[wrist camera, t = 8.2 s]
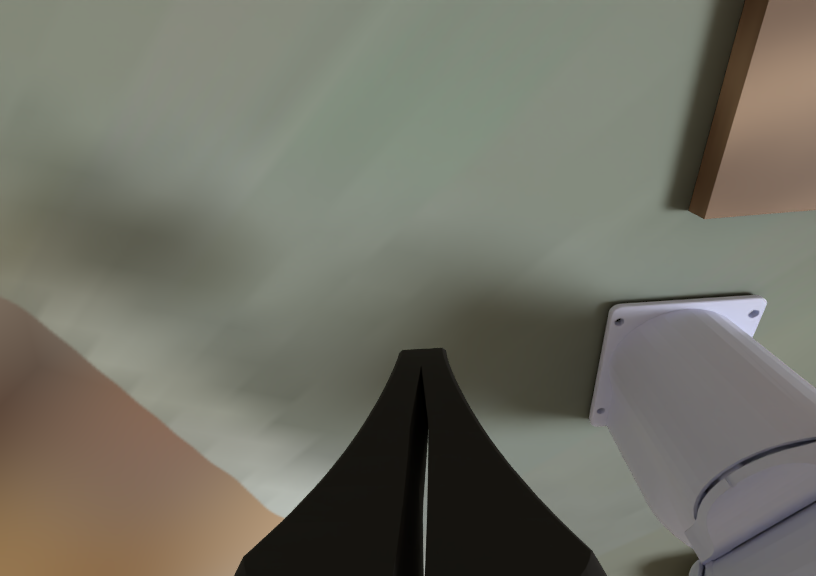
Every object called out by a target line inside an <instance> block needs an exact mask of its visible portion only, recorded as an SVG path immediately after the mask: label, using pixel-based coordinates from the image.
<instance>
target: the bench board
mask: <svg viewBox="0 0 816 576" xmlns="http://www.w3.org/2000/svg"><path fill="white" fill-rule="evenodd" d="M807 210H816V0H745V3H744V7H743V11H742V15H741V18H740V22H739V26H738V29H737V33H736V37H735V40H734V44H733V48H732V51H731V55H730V59H729V63H728V66H727V70H726V74H725V77H724V81H723V85H722V88H721V92H720V96H719V100H718V103H717V107H716V111H715V114H714V118H713V122H712V125H711V129H710V133H709V137H708V140H707V144H706V148H705V151H704V155H703V159H702V162H701V166H700V170H699V173H698V177H697V181H696V185H695V188H694V192H693V196H692V199H691V203H690V207H689V210H688V211H690V212H692V213H694V214H696V215H698V216H700V217H701V218H703V219H711V218H723V217H735V216H747V215H759V214H771V213H783V212H795V211H807Z"/></svg>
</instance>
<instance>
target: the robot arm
mask: <svg viewBox="0 0 816 576" xmlns="http://www.w3.org/2000/svg"><path fill="white" fill-rule="evenodd" d="M766 304H767V301H766V299H764V298H763V297H761V296H759V295H745V296H730V297H715V298H700V299H685V300H670V301H655V302H639V303H624V304H617V305H614V306H613V307H612V308H611V309H610V311H609V314H608V320H607V325H606V330H605V335H604V341H603V346H602V351H601V356H600V362H599V367H598V372H597V378H596V383H595V388H594V393H593V399H592V404H591V409H590V415H589V421H590V423H591V424H592V425H593V426H607V427H608V429H609V431H610V433H611V435H612V437H613V439H614V441H615V443H616V444H617V446H618V448H619V450H620V452H621V454H622V456H623V458H624V460H625V462H626V464H627V466H628V467H629V469H630V471H631V473H632V475H633V477H634V479H635V481H636V483H637V485H638V487H639V488H640V490H641V492H642V494H643V496H644V498H645V500H646V502H647V504H648V506H649V507H650V509H651V510H652V512H653V513H654V515H655V516H656V517H657V519H658V520H659V521H660V522H661V523H662V524H663V525H664V526H665V527H666V528H667V529H668V530H669V531H670V532H671V533H672V534H673V535H675V536H676V537H677V538H678V539H680V540H681V541H682V542H684V543H685V544H686V545H688V546H689V547H691V548H693V550H694V551H695V553H696V555H697V557H698V558H699V560H697V561H696V562H695V563H694V564H693V565H692V567H691V569H690V572H689V576H816V388H815V387H813V386H812V385H811V384H810V383H808V382H807V381H806V380H805V379H803V378H802V377H801V376H800V375H798V374H797V373H796V372H795V371H793V370H792V369H791V368H790V367H788V366H787V365H786V364H785V363H783V362H782V361H781V360H780V359H778V358H777V357H776V356H775V355H773V354H772V353H771V352H770V351H768V350H767V349H766V348H765V347H763V346H762V345H761V344H760V343H758V342H757V341H756V340H755V339H753V338H752V337H753V335H754V333H755V330H756V328H757V326H758V323H759V321H760V319H761V316H762V314H763V312H764V309H765V307H766ZM751 311H752V312H751ZM750 312H751V313H750ZM620 318H621V319H620ZM617 319H620V320H619V321H618V322H615V321H616V320H617ZM428 430H429V434H428ZM427 442H428V501H427V534H426V561H425V576H607V575H606V573H605V571H604V570H603V568H602V566H601V565H600V563H599V561H598V559H597V558H596V556H595V554H594V553H593V551H592V550H591V549H590V548H589V547H588V546H587V545H586V544H584V543H583V542H582V541H581V540H580V539H579V538H578V537H577V536H576V535H575V534H574V533H573V532H572V531H571V530H570V529H569V528H568V527H567V526H566V525H565V524H564V523H563V522H562V521H561V520H560V519H559V518H558V517H557V516H556V515H555V514H554V513H553V512H552V511H551V510H550V509H549V508H548V507H547V506H546V505H545V504H544V503H543V502H542V501H541V500H540V499H539V498H538V497H537V496H536V494H535V493H534V492H533V491H532V490H531V489H530V487H529V486H528V485H527V484H526V483H525V482H524V481H523V479H522V478H521V477H520V476H519V475H518V474H517V472H516V471H515V470H514V469H513V468H512V467H511V465H510V464H509V463H508V462H507V460H506V459H505V458H504V456H503V455H502V454H501V453H500V451H499V450H498V449H497V447H496V446H495V444H494V443H493V442H492V440H491V439H490V438H489V436H488V435H487V433H486V432H485V430H484V429H483V427H482V426H481V424H480V423H479V421H478V419H477V418H476V416H475V415H474V413H473V411H472V410H471V408H470V406H469V404H468V403H467V401H466V399H465V397H464V395H463V393H462V391H461V390H460V388H459V386H458V384H457V381H456V379H455V377H454V375H453V372H452V370H451V367H450V365H449V362H448V358H447V354H446V350H444V349H443V348H432V349H415V350H402V351H401V352H400V353H399V356H398V359H397V361H396V364H395V366H394V369H393V371H392V373H391V375H390V378H389V380H388V382H387V384H386V386H385V388H384V390H383V392H382V393H381V395H380V397H379V399H378V401H377V403H376V405H375V406H374V408H373V409H372V411H371V413H370V414H369V416H368V418H367V419H366V421H365V423H364V424H363V426H362V427H361V429H360V430H359V432H358V433H357V435H356V436H355V438H354V439H353V441H352V442H351V443H350V445H349V446H348V447H347V449H346V450H345V451H344V453H343V454H342V455H341V457H340V458H339V459H338V460H337V462H336V463H335V464H334V465H333V467H332V468H331V469H330V470H329V472H328V473H327V474H326V475H325V476H324V477H323V479H322V480H321V481H320V482H319V483H318V484H317V485H316V487H315V488H314V489H313V490H312V491H311V492H310V493H309V494H308V495H307V496H306V497H305V498H304V499H303V500H302V501H301V502H300V503H299V505H298V506H297V507H296V508H295V509H294V510H293V511H292V512H291V513H290V514H289V515H288V516H287V517H286V518H285V519H284V520H283V521H282V522H281V523H280V524H279V525H278V526H277V527H275V528H274V529H273V530H272V531H271V532H270V533H269V534H268V535H267V536H266V537H265V538H263V539H262V540H261V541H260V542H259V543H258V544H257V545H256V546H255V547H254V548H253V549H252V550H250V551H249V552H248V553H247V554H246V555H245V556H244V557H243V559H242V561H241V563H240V565H239V567H238V569H237V571H236V573H235V575H234V576H424V568H423V498H424V484H425V471H426V457H427Z"/></svg>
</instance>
